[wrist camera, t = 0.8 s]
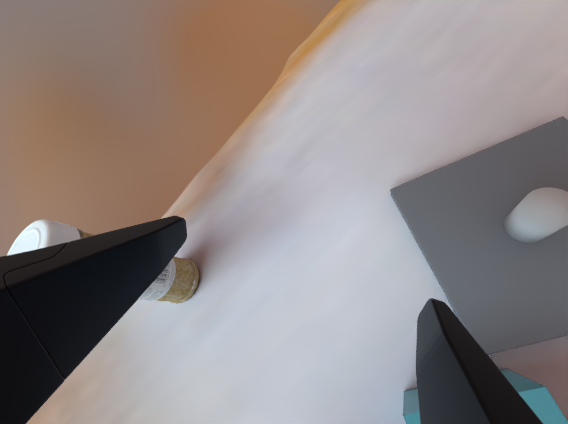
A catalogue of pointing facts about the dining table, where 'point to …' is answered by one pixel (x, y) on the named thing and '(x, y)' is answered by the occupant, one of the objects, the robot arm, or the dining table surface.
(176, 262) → the sprinkles bottle
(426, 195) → the thin grey square panel
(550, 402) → the teal cube
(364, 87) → the dining table surface
